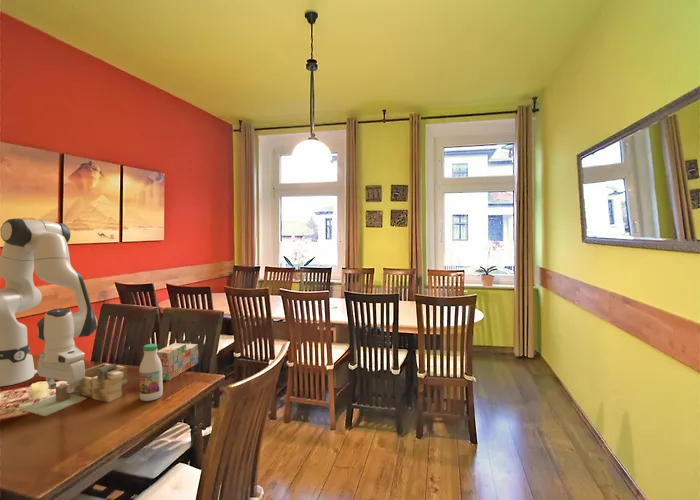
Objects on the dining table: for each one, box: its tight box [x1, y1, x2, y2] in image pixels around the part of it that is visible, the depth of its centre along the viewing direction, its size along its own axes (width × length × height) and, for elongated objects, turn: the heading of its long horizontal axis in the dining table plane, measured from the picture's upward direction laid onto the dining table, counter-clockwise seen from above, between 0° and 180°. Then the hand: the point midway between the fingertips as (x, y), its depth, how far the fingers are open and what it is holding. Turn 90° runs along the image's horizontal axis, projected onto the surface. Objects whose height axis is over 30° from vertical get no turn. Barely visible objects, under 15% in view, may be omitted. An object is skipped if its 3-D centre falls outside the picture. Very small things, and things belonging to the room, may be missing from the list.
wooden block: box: [105, 370, 123, 380], centre depth 138 cm, size 9×3×2 cm, turn 71°
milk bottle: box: [138, 343, 164, 402], centre depth 139 cm, size 8×8×20 cm
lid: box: [19, 384, 88, 417], centre depth 133 cm, size 13×14×6 cm
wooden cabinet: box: [71, 362, 128, 403], centre depth 145 cm, size 22×15×12 cm
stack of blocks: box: [157, 342, 199, 382], centre depth 165 cm, size 21×6×12 cm, turn 169°
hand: (61, 390), depth 135 cm, fingers open, 8 cm apart
